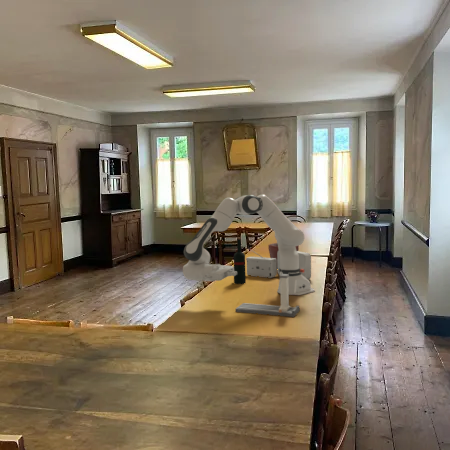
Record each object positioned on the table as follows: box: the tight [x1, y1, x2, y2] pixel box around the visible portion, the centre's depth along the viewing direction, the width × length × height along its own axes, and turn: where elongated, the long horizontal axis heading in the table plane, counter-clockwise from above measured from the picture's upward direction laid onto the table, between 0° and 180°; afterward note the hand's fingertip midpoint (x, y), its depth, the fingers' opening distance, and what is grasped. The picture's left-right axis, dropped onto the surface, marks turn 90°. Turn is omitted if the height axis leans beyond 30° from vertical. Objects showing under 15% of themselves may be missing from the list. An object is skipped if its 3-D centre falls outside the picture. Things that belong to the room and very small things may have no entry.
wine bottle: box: [233, 236, 247, 285], centre depth 298 cm, size 8×10×30 cm
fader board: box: [235, 302, 301, 318], centre depth 229 cm, size 30×12×3 cm, turn 68°
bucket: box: [268, 242, 300, 269], centre depth 345 cm, size 24×22×25 cm
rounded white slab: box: [277, 250, 312, 280], centre depth 314 cm, size 29×8×18 cm, turn 33°
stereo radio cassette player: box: [245, 247, 278, 279], centre depth 318 cm, size 21×8×20 cm, turn 58°
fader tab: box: [279, 274, 291, 311], centre depth 225 cm, size 4×7×17 cm, turn 158°
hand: (236, 273), depth 234 cm, fingers closed
